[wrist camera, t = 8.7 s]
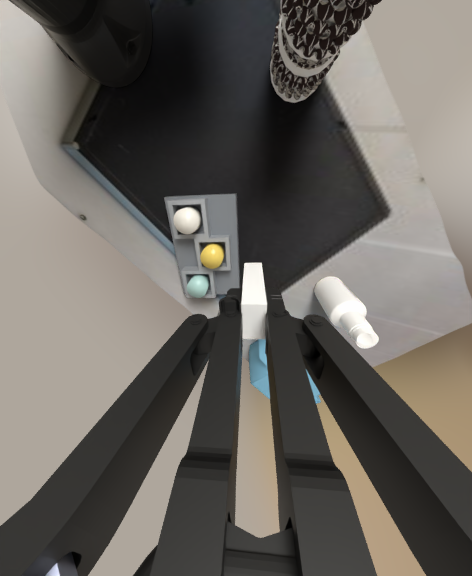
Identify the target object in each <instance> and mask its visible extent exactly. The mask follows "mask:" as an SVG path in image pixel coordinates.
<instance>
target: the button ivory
mask: <svg viewBox="0 0 472 576" xmlns="http://www.w3.org/2000/svg"><path fill="white" fill-rule="evenodd" d="M173 220H174V225H175V227H176V229H177V230H178V231H179V232H181V233H183V234H191V233H193V232H194V231H196V230H197V229H198V228H199V227H200V226H201V224H202V221H203V218H202V215H201V213H200V211H199V210H198V209H197V208H195V207H186V208H183V209H180V210H178V211H177V212H176V213H175V215H174V219H173Z"/></svg>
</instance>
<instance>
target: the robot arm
mask: <svg viewBox="0 0 472 576" xmlns="http://www.w3.org/2000/svg"><path fill="white" fill-rule="evenodd" d="M9 1H10V2H12V3H13V4H14V5H16V6H17V7H18V8H20V9H21V10H22V11H24V12H25V13H26V14H28V15H29V16H30V17H32V18H33V19H34V20H36V21H37V22H38V23H39V24H40V25H41V26H42V27H43V28H44V30H45V31H46V32H47V33H48V35H49V36H50V37H51V38H52V40H53V41H54V42H55V43H56V44H57V46H58V47H59V48H60V50H61V51H62V52H63V53H64V55H65V56H66V57H67V58H68V59H69V60H70V61H71V62H72V63H73V64H74V65H75V66H76V67H77V68H78V69H79V70H80V71H82V72H83V73H85V74H86V75H88V76H89V77H90V78H92V79H93V80H95V81H97V82H98V83H100V84H103V85H105V86H109V87H124V86H127V85H129V84H131V83H132V82H134V81H135V80H136V79H137V78H138V77H139V76H140V74H141V73H142V72H143V70H144V68H145V66H146V64H147V61H148V58H149V55H150V50H151V44H152V15H151V8H150V3H149V0H9ZM219 309H220V315H219V316H217V317H214V318H210V319H207V317H206V316H205V315H202V314H195V315H192V316H189V317H188V318H187V319H186V320H185V321H184V322H183V323H182V325H181V326H180V327H179V328H178V329H177V330H176V332H175V333H174V334H173V335H172V336H171V337H170V338H169V340H168V341H167V342H166V343H165V344H164V345H163V347H162V348H161V349H160V350H159V351H158V352H157V354H156V355H155V356H154V357H153V358H152V359H151V361H150V362H149V363H148V364H147V365H146V366H145V368H144V369H143V370H142V371H141V372H140V373H139V375H138V376H137V377H136V378H135V379H134V380H133V382H132V383H131V384H130V385H129V386H128V387H127V389H126V390H125V391H124V392H123V393H122V394H121V396H120V397H119V398H118V399H117V400H116V401H115V402H114V404H113V405H112V406H111V407H110V408H109V409H108V411H107V412H106V413H105V414H104V415H103V417H102V418H101V419H100V420H99V421H98V422H97V423H96V425H95V426H94V427H93V428H92V429H91V430H90V432H89V433H88V434H87V435H86V436H85V437H84V439H83V440H82V441H81V442H80V443H79V445H78V446H77V447H76V448H75V449H74V450H73V451H72V453H71V454H70V455H69V456H68V457H67V458H66V460H65V461H64V462H63V463H62V464H61V465H60V467H59V468H58V469H57V470H56V471H55V472H54V474H53V475H52V476H51V477H50V478H49V479H48V481H47V482H46V483H45V484H44V485H43V486H42V488H41V489H40V490H39V491H38V492H37V493H36V494H35V496H34V497H33V498H32V499H31V500H30V501H29V502H28V503H27V504H25V505H24V506H23V507H22V508H21V509H20V510H19V511H17V512H16V513H15V514H14V515H13V516H12V517H11V518H9V519H8V520H7V521H6V522H5V523H4V524H3V525H1V526H0V576H88V574H89V573H90V571H91V570H92V569H93V567H94V566H95V564H96V563H97V561H98V560H99V558H100V556H101V555H102V554H103V552H104V550H105V549H106V547H107V546H108V544H109V543H110V541H111V539H112V537H113V536H114V534H115V532H116V531H117V529H118V527H119V525H120V524H121V522H122V520H123V518H124V517H125V515H126V513H127V511H128V509H129V507H130V505H131V504H132V502H133V500H134V498H135V496H136V494H137V492H138V490H139V489H140V487H141V485H142V483H143V481H144V479H145V477H146V475H147V474H148V472H149V470H150V468H151V466H152V464H153V462H154V461H155V458H156V457H157V455H158V453H159V451H160V449H161V448H162V446H163V444H164V442H165V440H166V438H167V436H168V434H169V433H170V430H171V429H172V427H173V425H174V423H175V421H176V419H177V418H178V416H179V414H180V412H181V410H182V408H183V406H184V405H185V403H186V401H187V399H188V397H189V395H190V393H191V392H192V390H193V388H194V386H195V384H196V382H197V380H198V378H199V377H200V375H201V373H202V371H203V369H204V367H205V365H206V363H207V361H208V360H209V362H208V367H207V371H206V375H205V379H204V383H203V388H202V392H201V396H200V400H199V404H198V408H197V413H196V417H195V421H194V425H193V430H192V434H191V438H190V442H189V446H188V450H187V453H186V455H185V456H184V458H182V460H181V462H180V464H179V467H178V469H177V473H176V476H175V480H174V484H173V488H172V492H171V495H170V499H169V503H168V507H167V511H166V515H165V519H164V522H163V526H162V530H161V534H160V538H159V542H158V545H157V546H156V547H155V548H154V549H153V550H152V551H151V553H150V554H149V555H148V556H147V557H146V559H145V560H144V561H143V563H142V564H141V565H140V567H139V568H138V570H137V571H136V572H135V574H134V575H133V576H377V574H376V571H375V568H374V565H373V562H372V559H371V556H370V552H369V549H368V546H367V543H366V540H365V537H364V534H363V531H362V527H361V524H360V521H359V518H358V515H357V512H356V509H355V506H354V503H353V499H352V497H351V493H350V490H349V488H348V485H347V482H346V480H345V478H344V476H343V474H342V473H341V471H340V470H339V469H338V468H337V467H336V466H335V464H334V462H333V459H332V456H331V453H330V450H329V446H328V443H327V439H326V436H325V433H324V429H323V426H322V422H321V419H320V416H319V412H318V409H317V405H316V402H315V399H314V395H313V392H312V388H311V385H310V382H309V378H308V375H307V372H308V373H309V375H310V377H311V379H312V380H313V382H314V384H315V385H316V387H317V389H318V391H319V392H320V394H321V396H322V398H323V399H324V401H325V403H326V404H327V406H328V408H329V410H330V411H331V413H332V415H333V417H334V418H335V420H336V422H337V424H338V425H339V427H340V429H341V430H342V432H343V434H344V436H345V437H346V439H347V441H348V443H349V444H350V446H351V447H352V449H353V451H354V453H355V454H356V456H357V458H358V460H359V462H360V463H361V465H362V466H363V468H364V470H365V472H366V473H367V475H368V477H369V479H370V480H371V482H372V484H373V486H374V487H375V489H376V491H377V492H378V494H379V496H380V498H381V499H382V501H383V503H384V505H385V506H386V508H387V510H388V512H389V513H390V515H391V517H392V518H393V520H394V522H395V524H396V525H397V527H398V529H399V530H400V532H401V534H402V536H403V537H404V539H405V541H406V542H407V544H408V546H409V548H410V550H411V551H412V553H413V554H414V556H415V558H416V559H417V561H418V562H419V564H420V566H421V567H422V569H423V571H424V572H425V574H426V576H472V472H471V471H470V470H469V469H468V468H467V467H466V466H465V465H464V464H463V463H462V462H461V461H460V460H459V459H458V457H457V456H456V455H454V454H453V452H452V451H451V450H450V449H449V448H448V447H447V446H446V445H445V444H444V443H443V442H442V441H441V440H440V439H439V437H438V436H437V435H436V434H435V433H434V432H433V431H432V430H431V429H430V428H429V427H428V426H427V425H426V424H425V423H424V422H423V421H422V420H421V419H420V417H419V416H418V415H417V414H416V413H415V412H414V411H413V410H412V409H411V408H410V407H409V406H408V405H407V404H406V403H405V402H404V401H403V400H402V399H401V398H400V396H399V395H398V394H396V392H395V391H394V390H393V389H392V388H391V387H390V386H389V385H388V384H387V383H386V382H385V381H384V380H383V379H382V377H380V375H379V374H378V373H377V372H376V371H375V370H374V369H373V368H372V367H371V366H370V365H369V364H368V363H367V362H366V361H365V360H364V359H363V357H362V356H361V355H360V354H359V353H358V352H357V351H356V350H355V349H354V348H353V347H352V346H351V345H350V344H349V343H348V342H347V341H346V340H345V339H344V337H343V336H342V335H341V334H340V333H339V332H338V331H337V330H336V329H335V328H334V327H333V326H332V325H331V324H330V323H329V322H328V321H327V320H326V319H325V318H323V317H321V316H318V315H307V316H306V317H304V320H302V319H297V318H294V317H292V316H290V314H289V312H288V311H287V310H285V306H284V302H283V299H282V296H281V292H280V290H279V289H278V288H265V286H264V278H263V271H262V263H245V264H244V276H243V288H230V289H229V290H228V291H227V295H226V297H224V298H222V299H221V300H220V301H219ZM265 336H266V345H265V354H266V357H267V369H268V380H269V392H270V403H271V415H272V426H273V436H274V437H273V438H274V449H275V461H276V473H277V484H278V509H279V526H280V532H279V533H276V534H273V535H270V536H267V537H264V538H258V537H255V536H254V535H251V534H250V533H248V532H246V531H244V530H243V529H241V528H239V527H237V526H235V497H236V496H235V494H236V493H235V492H236V469H237V447H238V427H239V407H240V385H241V366H242V346H243V344H242V339H265ZM306 370H307V371H306Z"/></svg>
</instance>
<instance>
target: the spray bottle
mask: <svg viewBox="0 0 472 576" xmlns="http://www.w3.org/2000/svg"><path fill="white" fill-rule="evenodd" d="M314 293H315V296H316V297H317V299H318V301H319V302H320V304H321V306H322V308H323V309H324V311H325V313H326V314H327V316H328V318H329V320H330V321H331V322H332V324H333V325H335V326H336V327H339V328H344V329H345V330H346V332H347V333H348V335H349V336H350V338H352V339H353V340H354V342H355V343H356V345H357V346H358V347H360V348H370V347H373V346H374V345H376V344H377V343H378V340H379V338H378V336H377V335H376V333H375V332H374V331H373V329H372V327H371V325H370V324H369V323H368V322H367V321H366V319H365V316H366V313H367V312H366V307H365V306H364V304H363V303H362V302H361V301H360V300H359V299H358V298H357V297H356V296H355V295H354V294H353V293H352V292H351V290H350V289H349V288H348V287H347V286H346V285H345V284H344V283H343V282H342V281H341V280H340V279H338V278H336V277H326V278H323V279H321V280H320V281H319V282H318V283H317V284H316V286H315V289H314Z"/></svg>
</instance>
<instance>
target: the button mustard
mask: <svg viewBox="0 0 472 576" xmlns="http://www.w3.org/2000/svg"><path fill="white" fill-rule="evenodd" d="M224 255H225V250H224V247H223V246H222V245H221V244H220V243H217V242H211V243H209V244H207V246H206V247H205V248H204V250H203V251H202V253H201V255H200V259H201V262H202V264H203V265H204V266H205V267H207V268H210V269H214V268H217V267H219V266H220V265H221V263H222V261H223V258H224Z"/></svg>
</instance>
